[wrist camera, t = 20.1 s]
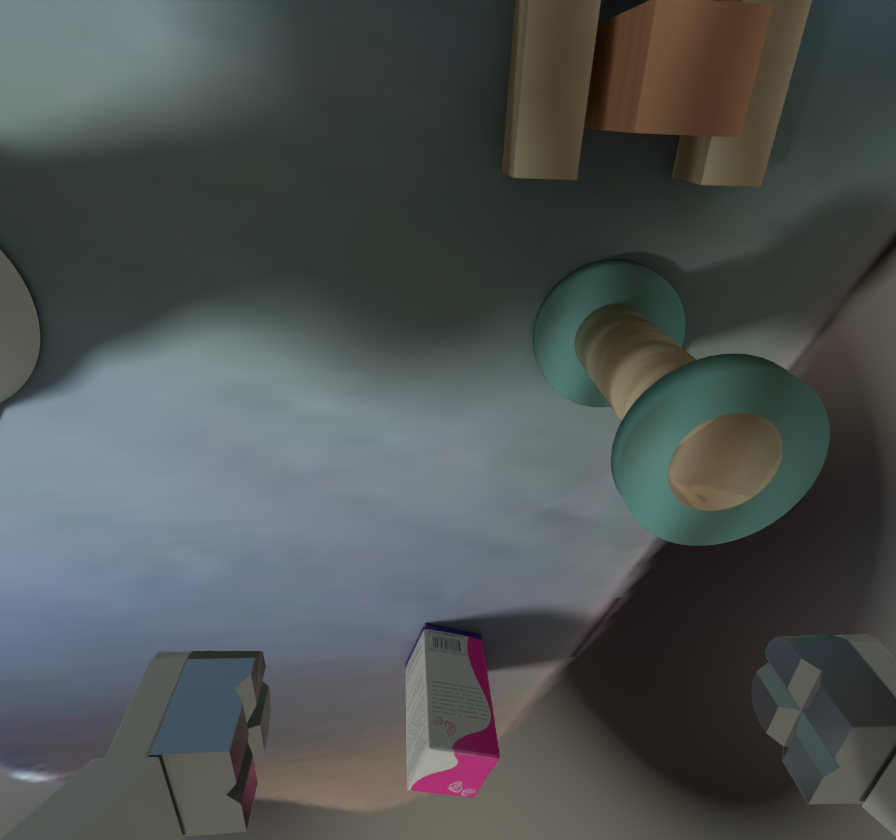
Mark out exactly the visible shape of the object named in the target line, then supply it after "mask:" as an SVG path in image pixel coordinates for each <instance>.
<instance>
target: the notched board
mask: <svg viewBox="0 0 896 840" xmlns="http://www.w3.org/2000/svg"><path fill="white" fill-rule="evenodd" d="M715 1H730V2H746V3H762V4H773V8H772V12H771V16H770V20H769V24H768V28H767V32H766V36H765V40H764V45H763V49H762V53H761V57H760V61H759V65H758V69H757V73H756V77H755V81H754V85H753V89H752V93H751V97H750V101H749V105H748V109H747V113H746V117H745V121H744V125H743V129H742V133H741V137H740V138H736V137H714V136H691V135H680V138H679V142H678V147H677V152H676V157H675V162H674V167H673V172H672V177H671V178H674V179H678V180H682V181H687V182H691V183H695V184H699V185H716V186H743V187H761V186H762V182H763V179H764V175H765V171H766V168H767V164H768V160H769V157H770V153H771V149H772V146H773V142H774V138H775V135H776V131H777V127H778V124H779V120H780V116H781V113H782V109H783V105H784V102H785V98H786V94H787V91H788V87H789V83H790V79H791V76H792V72H793V68H794V65H795V61H796V57H797V54H798V50H799V46H800V43H801V39H802V35H803V32H804V28H805V24H806V21H807V17H808V13H809V10H810V6H811V2H812V0H715ZM600 3H601V0H515V10H514V23H513V36H512V49H511V62H510V75H509V88H508V100H507V113H506V126H505V139H504V152H503V165H502V172H504V173H506V174H507V175H509V176H511V177H513V178H530V179H557V180H577V175H578V168H579V160H580V153H581V145H582V138H583V130H584V123H585V115H586V108H587V100H588V93H589V85H590V78H591V70H592V63H593V55H594V48H595V40H596V33H597V25H598V18H599V10H600Z"/></svg>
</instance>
